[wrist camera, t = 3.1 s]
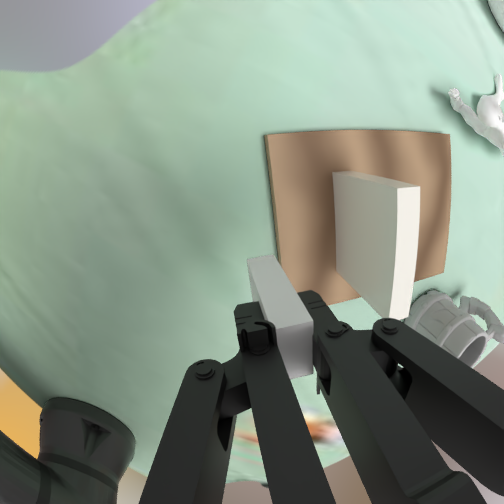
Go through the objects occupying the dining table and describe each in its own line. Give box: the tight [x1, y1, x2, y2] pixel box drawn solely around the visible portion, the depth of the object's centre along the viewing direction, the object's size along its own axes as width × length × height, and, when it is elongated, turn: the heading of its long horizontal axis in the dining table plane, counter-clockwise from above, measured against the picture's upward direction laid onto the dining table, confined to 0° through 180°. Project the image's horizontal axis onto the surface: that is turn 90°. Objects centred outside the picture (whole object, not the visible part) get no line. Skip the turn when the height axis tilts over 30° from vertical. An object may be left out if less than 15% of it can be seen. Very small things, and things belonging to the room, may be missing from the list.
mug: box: [404, 290, 504, 368], centre depth 26 cm, size 8×12×12 cm, turn 107°
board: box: [264, 130, 451, 306], centre depth 25 cm, size 20×16×1 cm
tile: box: [332, 171, 420, 320], centre depth 20 cm, size 2×9×9 cm, turn 7°
